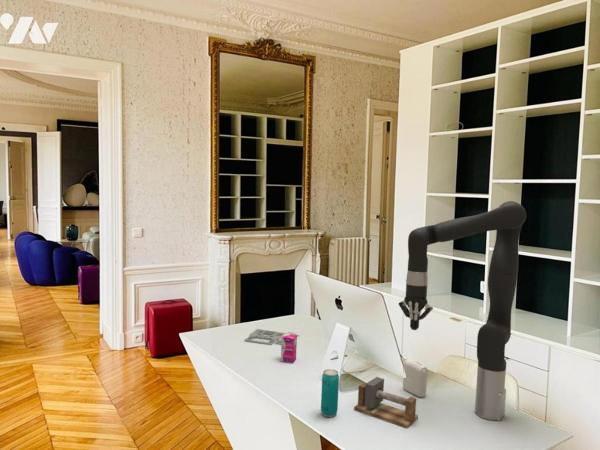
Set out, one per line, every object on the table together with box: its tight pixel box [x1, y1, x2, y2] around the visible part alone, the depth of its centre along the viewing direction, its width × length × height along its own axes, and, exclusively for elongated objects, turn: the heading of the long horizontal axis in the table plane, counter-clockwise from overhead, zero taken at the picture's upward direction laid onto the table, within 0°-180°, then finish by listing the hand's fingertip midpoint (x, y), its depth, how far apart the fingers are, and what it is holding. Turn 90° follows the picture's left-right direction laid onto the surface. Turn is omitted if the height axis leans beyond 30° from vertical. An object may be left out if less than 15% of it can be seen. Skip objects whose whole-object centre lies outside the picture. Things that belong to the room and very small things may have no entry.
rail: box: [353, 382, 419, 429], centre depth 172 cm, size 20×9×8 cm, turn 53°
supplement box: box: [280, 334, 298, 364], centre depth 220 cm, size 6×6×12 cm
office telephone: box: [244, 328, 300, 346], centre depth 251 cm, size 23×3×20 cm
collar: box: [365, 376, 385, 408], centre depth 174 cm, size 3×8×8 cm, turn 143°
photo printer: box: [402, 358, 428, 398], centre depth 191 cm, size 10×4×12 cm, turn 29°
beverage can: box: [320, 368, 340, 418], centre depth 170 cm, size 6×6×15 cm
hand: (414, 329), depth 181 cm, fingers closed
